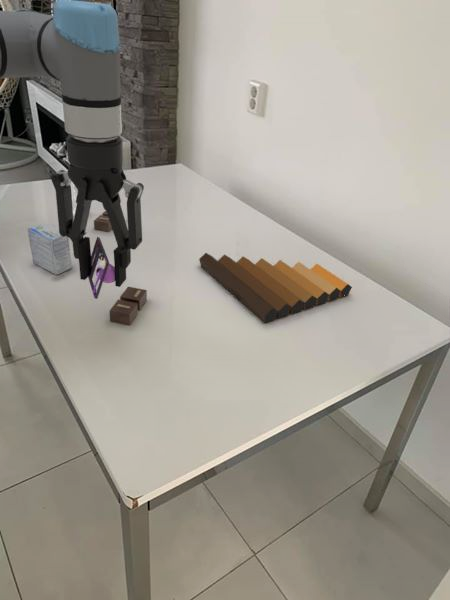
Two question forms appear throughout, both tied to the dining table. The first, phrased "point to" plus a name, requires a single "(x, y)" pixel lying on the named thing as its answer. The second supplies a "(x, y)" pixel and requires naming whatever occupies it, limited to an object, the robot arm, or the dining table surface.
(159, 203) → the dining table surface
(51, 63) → the robot arm
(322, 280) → the pan flute
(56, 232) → the medicine box
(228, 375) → the dining table surface
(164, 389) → the dining table surface
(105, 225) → the brown block
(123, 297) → the brown segmented bar
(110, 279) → the game card
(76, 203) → the chess piece
